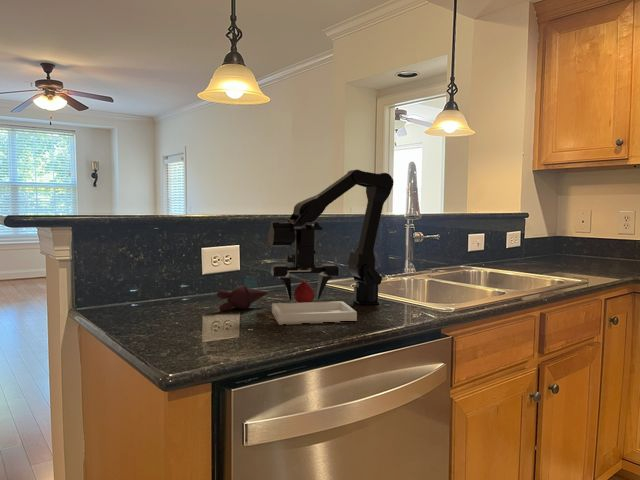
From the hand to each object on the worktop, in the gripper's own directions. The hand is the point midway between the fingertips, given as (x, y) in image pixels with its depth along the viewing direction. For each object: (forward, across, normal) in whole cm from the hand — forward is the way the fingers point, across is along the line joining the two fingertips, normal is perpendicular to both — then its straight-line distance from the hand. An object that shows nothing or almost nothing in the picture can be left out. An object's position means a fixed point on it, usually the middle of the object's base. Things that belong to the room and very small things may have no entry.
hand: (304, 299), depth 136 cm
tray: (+2, 0, +12) cm, 12 cm away
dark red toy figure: (+2, +17, -1) cm, 18 cm away
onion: (+2, 0, 0) cm, 2 cm away
